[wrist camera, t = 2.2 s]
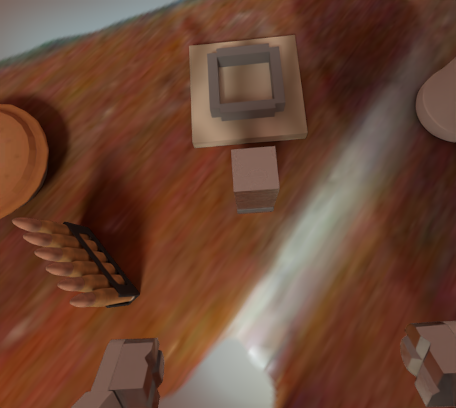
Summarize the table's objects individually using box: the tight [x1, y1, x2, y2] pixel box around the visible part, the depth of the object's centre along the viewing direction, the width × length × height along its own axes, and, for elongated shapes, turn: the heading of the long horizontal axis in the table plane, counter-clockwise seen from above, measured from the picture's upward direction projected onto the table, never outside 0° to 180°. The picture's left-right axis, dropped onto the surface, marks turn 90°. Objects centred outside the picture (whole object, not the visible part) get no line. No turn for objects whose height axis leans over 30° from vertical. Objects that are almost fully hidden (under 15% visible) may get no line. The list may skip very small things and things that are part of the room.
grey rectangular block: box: [231, 146, 279, 214], centre depth 32 cm, size 4×4×10 cm
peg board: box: [189, 35, 308, 148], centre depth 39 cm, size 14×14×4 cm
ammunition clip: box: [12, 218, 140, 308], centre depth 31 cm, size 11×2×12 cm, turn 42°
